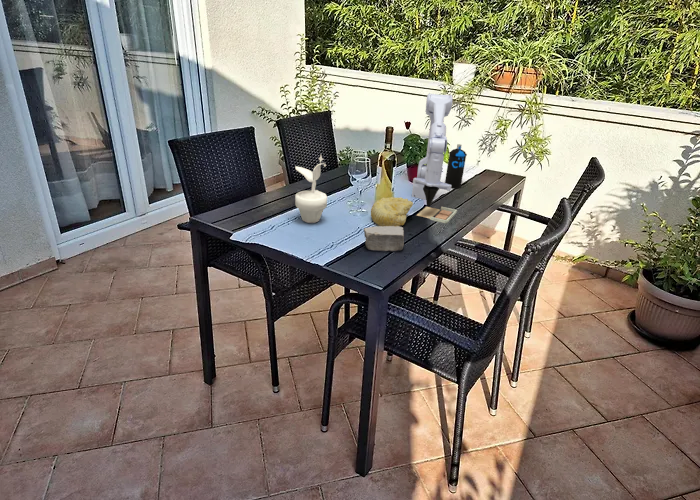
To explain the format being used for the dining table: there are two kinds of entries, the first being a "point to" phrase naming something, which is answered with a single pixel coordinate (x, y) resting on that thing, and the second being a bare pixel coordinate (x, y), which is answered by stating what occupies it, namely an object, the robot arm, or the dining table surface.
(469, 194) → the dining table surface
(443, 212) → the tile
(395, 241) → the decorative stone
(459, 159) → the aerosol can
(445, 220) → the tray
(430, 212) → the board
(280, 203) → the dining table surface
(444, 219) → the tile
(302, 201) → the potted plant
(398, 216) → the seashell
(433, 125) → the robot arm
